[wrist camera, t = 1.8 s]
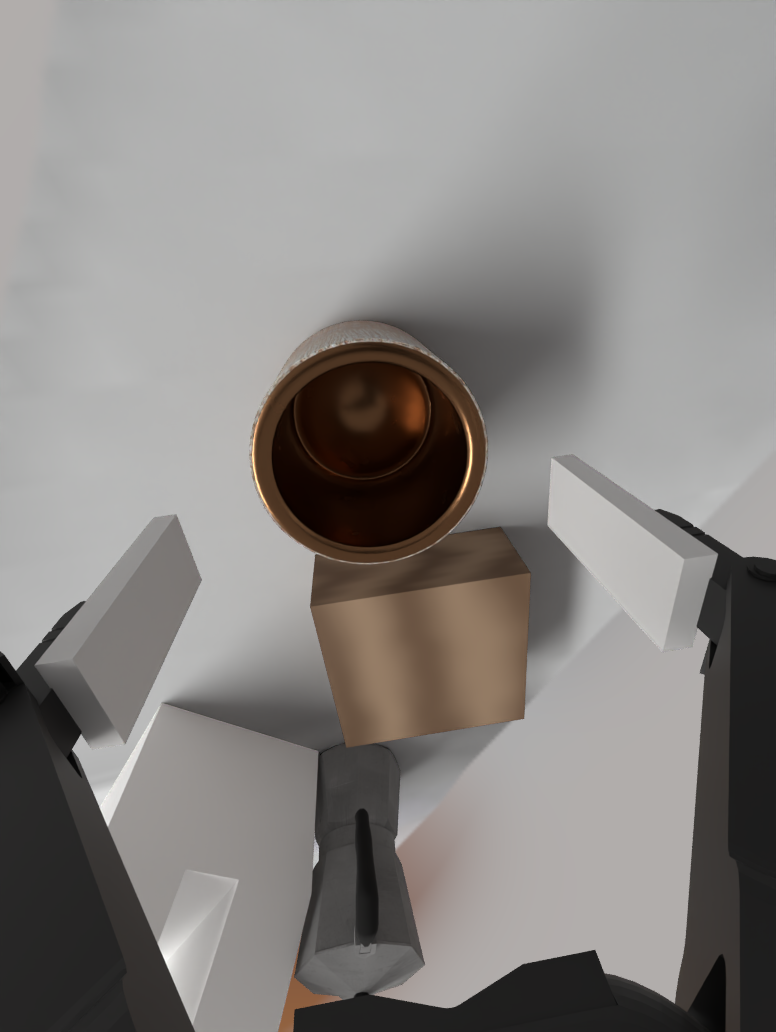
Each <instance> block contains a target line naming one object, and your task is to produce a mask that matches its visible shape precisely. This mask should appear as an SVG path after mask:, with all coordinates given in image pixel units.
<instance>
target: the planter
mask: <svg viewBox="0 0 776 1032" xmlns="http://www.w3.org/2000/svg"><path fill="white" fill-rule="evenodd" d="M249 456H250V467H251V474H252V478H253V482H254V485H255V488H256V491H257V494H258V496H259V498H260V500H261V502H262V504H263V506H264V508H265V509H266V511H267V513H268V514H269V515H270V517H271V518H272V519H273V521H274V522H275V523H276V524H277V525H278V527H279V528H280V529H281V530H282V531H283V532H284V533H286V534H287V535H288V536H289V537H290V538H291V539H293V540H294V541H295V542H297V543H298V544H300V545H301V546H303V547H305V548H306V549H308V550H310V551H312V552H314V553H316V554H318V555H321V556H324V557H326V558H329V559H333V560H336V561H341V562H346V563H353V564H381V563H388V562H393V561H397V560H401V559H404V558H408V557H410V556H413V555H416V554H418V553H420V552H422V551H424V550H426V549H428V548H430V547H431V546H433V545H434V544H436V543H438V542H439V541H440V540H442V539H443V538H444V537H446V536H447V535H448V534H449V533H450V532H451V531H452V530H453V529H454V528H455V527H456V526H457V525H458V524H459V523H460V522H461V521H462V520H463V518H464V517H465V516H466V514H467V513H468V512H469V510H470V509H471V507H472V505H473V504H474V502H475V500H476V498H477V496H478V494H479V491H480V489H481V486H482V483H483V480H484V476H485V472H486V467H487V459H488V439H487V432H486V427H485V422H484V419H483V416H482V413H481V410H480V408H479V405H478V403H477V401H476V399H475V397H474V396H473V394H472V392H471V391H470V389H469V388H468V386H467V385H466V384H465V382H464V381H463V380H462V379H461V377H460V376H459V375H458V374H457V373H456V372H455V371H454V370H453V369H452V368H451V367H450V366H448V365H447V364H446V363H445V362H444V361H442V360H441V359H440V358H438V357H437V356H436V355H434V354H433V353H432V352H431V351H430V350H428V349H427V348H426V347H425V346H424V345H423V344H421V343H420V342H419V341H418V340H416V339H415V338H414V337H412V336H411V335H409V334H408V333H406V332H404V331H402V330H400V329H398V328H396V327H393V326H391V325H388V324H384V323H380V322H375V321H360V320H358V321H348V322H342V323H339V324H335V325H332V326H329V327H327V328H325V329H322V330H320V331H319V332H317V333H315V334H314V335H312V336H311V337H309V338H308V339H307V340H305V341H304V342H303V343H302V344H301V345H300V346H299V347H298V348H297V349H296V350H295V351H294V352H293V353H292V355H291V356H290V357H289V359H288V360H287V362H286V363H285V365H284V367H283V368H282V370H281V372H280V373H279V375H278V377H277V379H276V380H275V382H274V383H273V385H272V386H271V388H270V389H269V391H268V392H267V394H266V396H265V397H264V399H263V401H262V403H261V405H260V407H259V409H258V412H257V414H256V417H255V420H254V424H253V427H252V432H251V438H250V452H249Z"/></svg>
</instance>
